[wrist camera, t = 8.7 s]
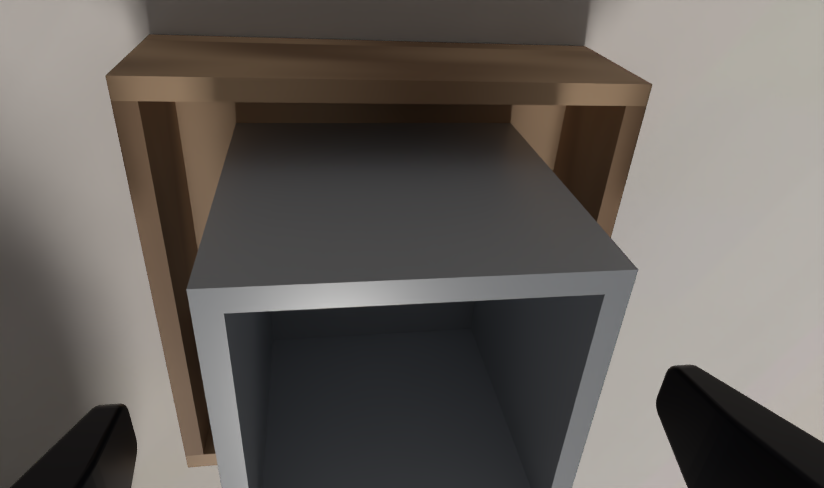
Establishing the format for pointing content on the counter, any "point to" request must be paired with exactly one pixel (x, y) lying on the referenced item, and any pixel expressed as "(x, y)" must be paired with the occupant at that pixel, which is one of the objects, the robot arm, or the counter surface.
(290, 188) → the grey plastic crate
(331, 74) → the walnut crate
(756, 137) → the counter surface
